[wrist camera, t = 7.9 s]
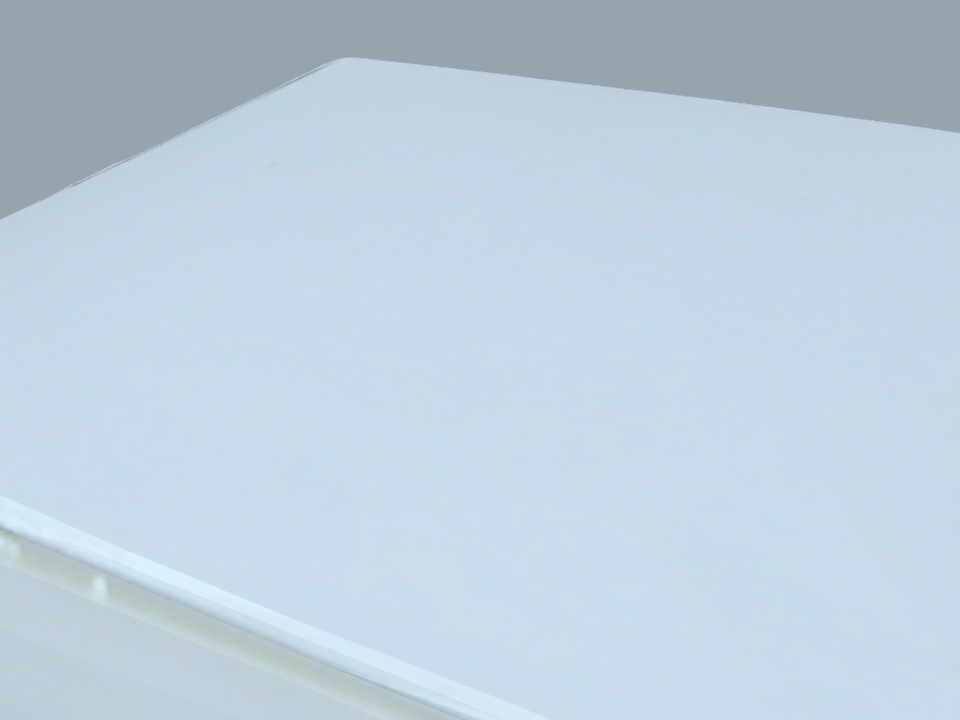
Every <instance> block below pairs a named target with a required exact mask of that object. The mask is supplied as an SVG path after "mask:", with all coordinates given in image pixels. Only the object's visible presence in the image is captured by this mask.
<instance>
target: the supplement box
mask: <svg viewBox="0 0 960 720" xmlns="http://www.w3.org/2000/svg"><path fill="white" fill-rule="evenodd" d="M0 720H960V133H954V132H948V131H942V130H935V129H928V128H922V127H916V126H908V125H901V124H892V123H886V122H878V121H871V120H863V119H856V118H848V117H841V116H833V115H826V114H818V113H810V112H803V111H795V110H788V109H780V108H773V107H765V106H757V105H750V104H742V103H734V102H727V101H719V100H710V99H703V98H695V97H687V96H679V95H671V94H663V93H654V92H646V91H638V90H629V89H619V88H612V87H603V86H595V85H587V84H577V83H569V82H561V81H553V80H545V79H536V78H528V77H520V76H512V75H504V74H495V73H487V72H478V71H470V70H461V69H452V68H443V67H434V66H425V65H417V64H407V63H399V62H390V61H381V60H373V59H365V58H356V57H351V58H341V59H337V60H335V61H332V62H330V63H327V64H324V65H322V66H320V67H318V68H316V69H314V70H312V71H310V72H308V73H306V74H304V75H302V76H300V77H297V78H295V79H293V80H291V81H289V82H287V83H285V84H283V85H281V86H279V87H277V88H275V89H273V90H271V91H270V92H267V93H265V94H264V95H261V96H259V97H257V98H255V99H253V100H251V101H249V102H247V103H245V104H243V105H240V106H238V107H236V108H234V109H232V110H230V111H228V112H226V113H223V114H221V115H219V116H217V117H215V118H213V119H211V120H209V121H207V122H205V123H203V124H200V125H198V126H196V127H194V128H192V129H190V130H188V131H186V132H184V133H182V134H180V135H178V136H176V137H174V138H172V139H169V140H167V141H165V142H163V143H161V144H159V145H157V146H155V147H153V148H151V149H148V150H146V151H144V152H142V153H140V154H138V155H135V156H133V157H131V158H129V159H126V160H123V161H121V162H118V163H116V164H113V165H111V166H109V167H107V168H105V169H103V170H101V171H99V172H97V173H95V174H93V175H91V176H89V177H86V178H84V179H82V180H80V181H78V182H76V183H74V184H72V185H70V186H69V187H67V188H65V189H63V190H61V191H60V192H58V193H56V194H54V195H52V196H50V197H48V198H46V199H44V200H41V201H39V202H37V203H35V204H33V205H31V206H29V207H27V208H24V209H22V210H20V211H18V212H16V213H14V214H11V215H9V216H7V217H5V218H3V219H1V220H0Z"/></svg>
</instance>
